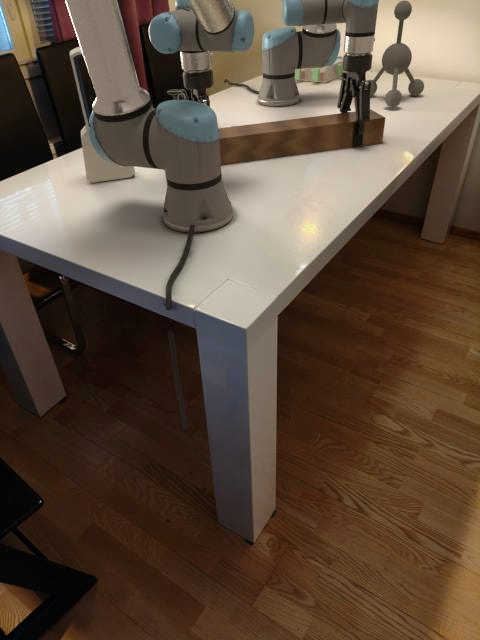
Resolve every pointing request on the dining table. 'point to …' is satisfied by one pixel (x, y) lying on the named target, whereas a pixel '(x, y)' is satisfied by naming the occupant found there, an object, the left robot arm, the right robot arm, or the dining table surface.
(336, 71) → the decorative block
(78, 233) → the dining table surface
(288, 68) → the right robot arm
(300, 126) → the wide beam
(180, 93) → the grenade
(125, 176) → the electronic device
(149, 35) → the left robot arm
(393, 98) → the molecular model
